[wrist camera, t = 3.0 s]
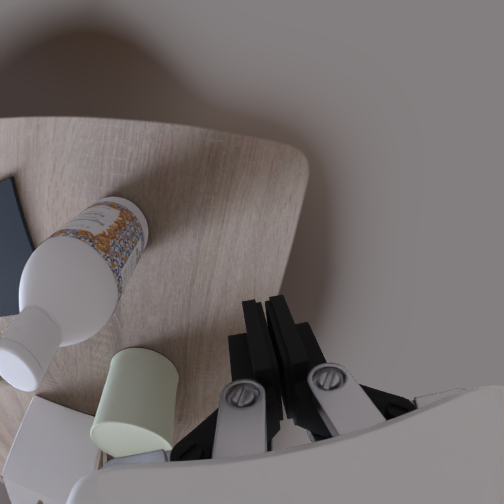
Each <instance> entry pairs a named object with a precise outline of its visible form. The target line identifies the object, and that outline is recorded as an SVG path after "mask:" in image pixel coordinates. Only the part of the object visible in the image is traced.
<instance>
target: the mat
mask: <svg viewBox="0 0 504 504" xmlns="http://www.w3.org/2000/svg"><path fill="white" fill-rule="evenodd" d="M34 251H35V249H34V246H33V243H32V240H31V237H30V234H29V231H28V228H27V225H26V222H25V219H24V215H23V212H22V209H21V205H20V202H19V198H18V194H17V190H16V186H15V182H14V178H13V177H10V178H8V179H6V180H4V181H1V182H0V317H2V316H9V315H16V314H19V313H20V310H19V287H20V280H21V276H22V273H23V270H24V267H25V265H26V263H27V261H28V259H29V258H30V256H31V255H32V253H33V252H34Z"/></svg>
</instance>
